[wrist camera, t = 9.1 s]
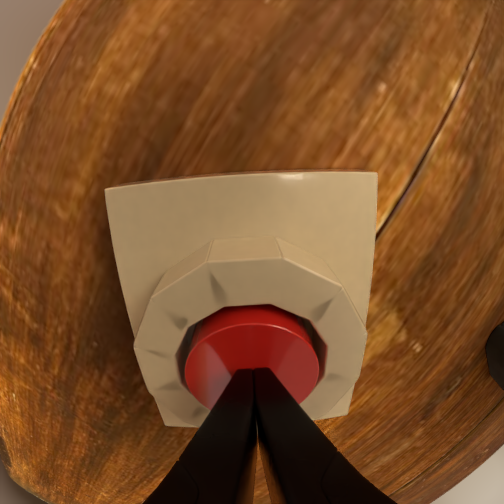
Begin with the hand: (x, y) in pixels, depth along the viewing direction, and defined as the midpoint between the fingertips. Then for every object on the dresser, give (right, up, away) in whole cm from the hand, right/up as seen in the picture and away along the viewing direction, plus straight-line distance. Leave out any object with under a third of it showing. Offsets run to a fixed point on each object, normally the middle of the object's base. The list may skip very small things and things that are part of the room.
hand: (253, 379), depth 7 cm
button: (0, +1, +2) cm, 2 cm away
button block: (0, +1, +3) cm, 3 cm away
